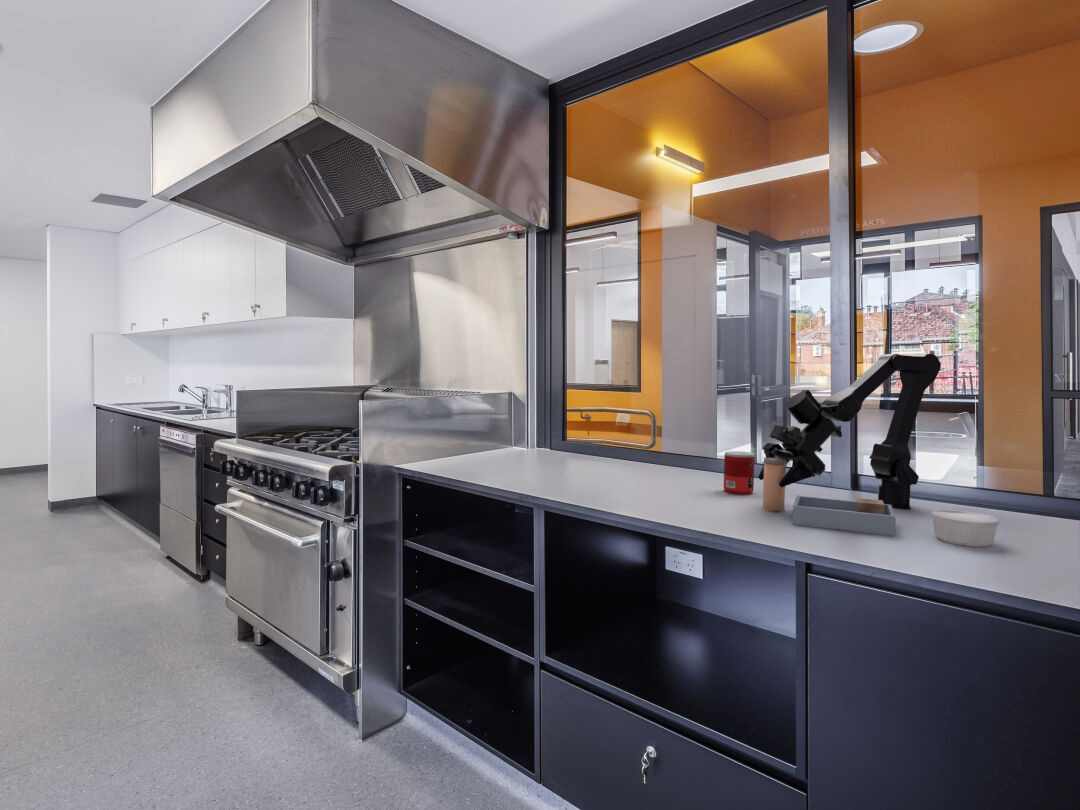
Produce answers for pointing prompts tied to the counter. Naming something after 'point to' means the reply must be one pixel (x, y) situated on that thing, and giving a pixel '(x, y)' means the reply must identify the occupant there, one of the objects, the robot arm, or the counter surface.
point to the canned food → (738, 472)
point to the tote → (841, 516)
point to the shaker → (774, 484)
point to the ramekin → (964, 527)
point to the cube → (870, 506)
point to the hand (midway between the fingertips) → (769, 482)
